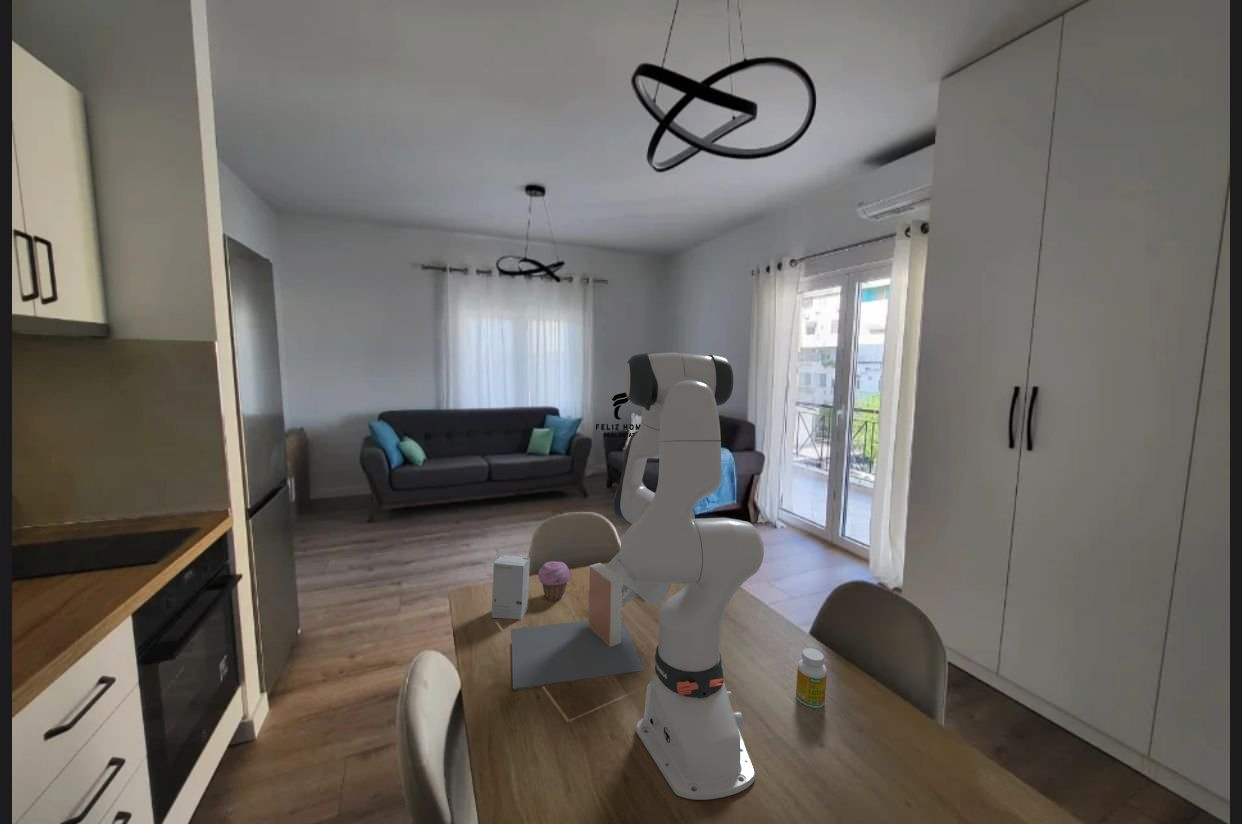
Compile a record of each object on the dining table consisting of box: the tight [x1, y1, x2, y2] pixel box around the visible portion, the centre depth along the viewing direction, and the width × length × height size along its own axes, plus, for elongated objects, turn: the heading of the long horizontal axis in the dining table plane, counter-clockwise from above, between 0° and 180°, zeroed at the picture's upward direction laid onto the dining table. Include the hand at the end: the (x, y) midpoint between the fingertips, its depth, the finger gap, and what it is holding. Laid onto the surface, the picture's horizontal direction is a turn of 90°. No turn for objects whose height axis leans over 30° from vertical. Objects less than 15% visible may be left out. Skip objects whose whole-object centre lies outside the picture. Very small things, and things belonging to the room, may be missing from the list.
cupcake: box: [538, 561, 571, 601], centre depth 135 cm, size 9×9×10 cm
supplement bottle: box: [795, 647, 828, 709], centre depth 95 cm, size 5×5×10 cm
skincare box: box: [491, 554, 531, 621], centre depth 125 cm, size 8×6×15 cm
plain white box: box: [588, 562, 623, 647], centre depth 115 cm, size 3×10×16 cm, turn 33°
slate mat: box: [511, 616, 646, 691], centre depth 110 cm, size 22×28×1 cm
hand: (617, 604), depth 117 cm, fingers closed
